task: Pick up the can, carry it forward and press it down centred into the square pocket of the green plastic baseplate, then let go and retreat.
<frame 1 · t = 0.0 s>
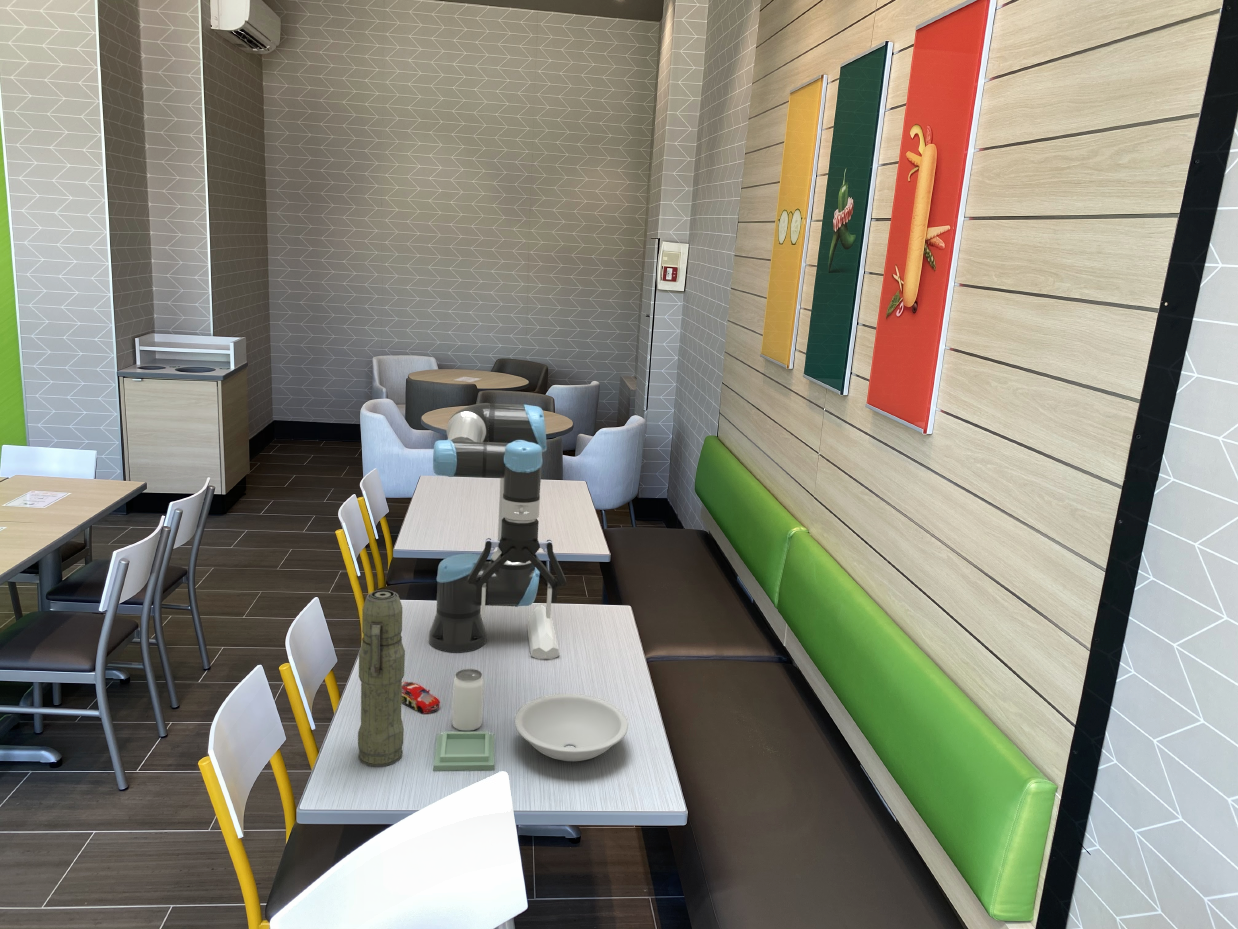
hand: (515, 615, 183), 28 cm above the table, fingers open, 13 cm apart
can: (467, 725, 192), on the table
baseplate: (465, 754, 181), on the table
crystal: (542, 643, 238), on the table
race car: (415, 704, 200), on the table
thermos: (380, 756, 178), on the table
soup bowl: (569, 749, 186), on the table
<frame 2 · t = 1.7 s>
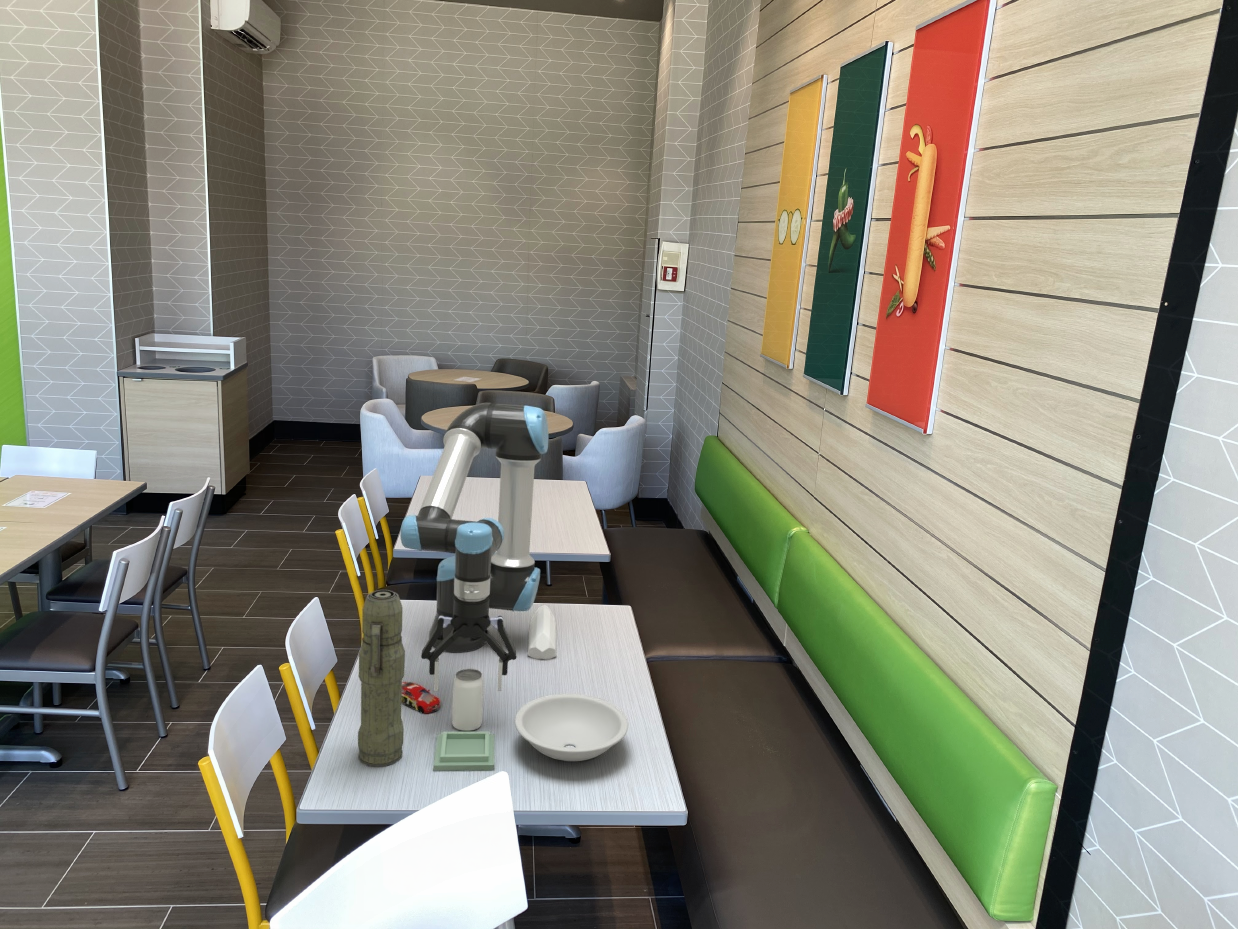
hand: (467, 688, 190), 9 cm above the table, fingers open, 13 cm apart
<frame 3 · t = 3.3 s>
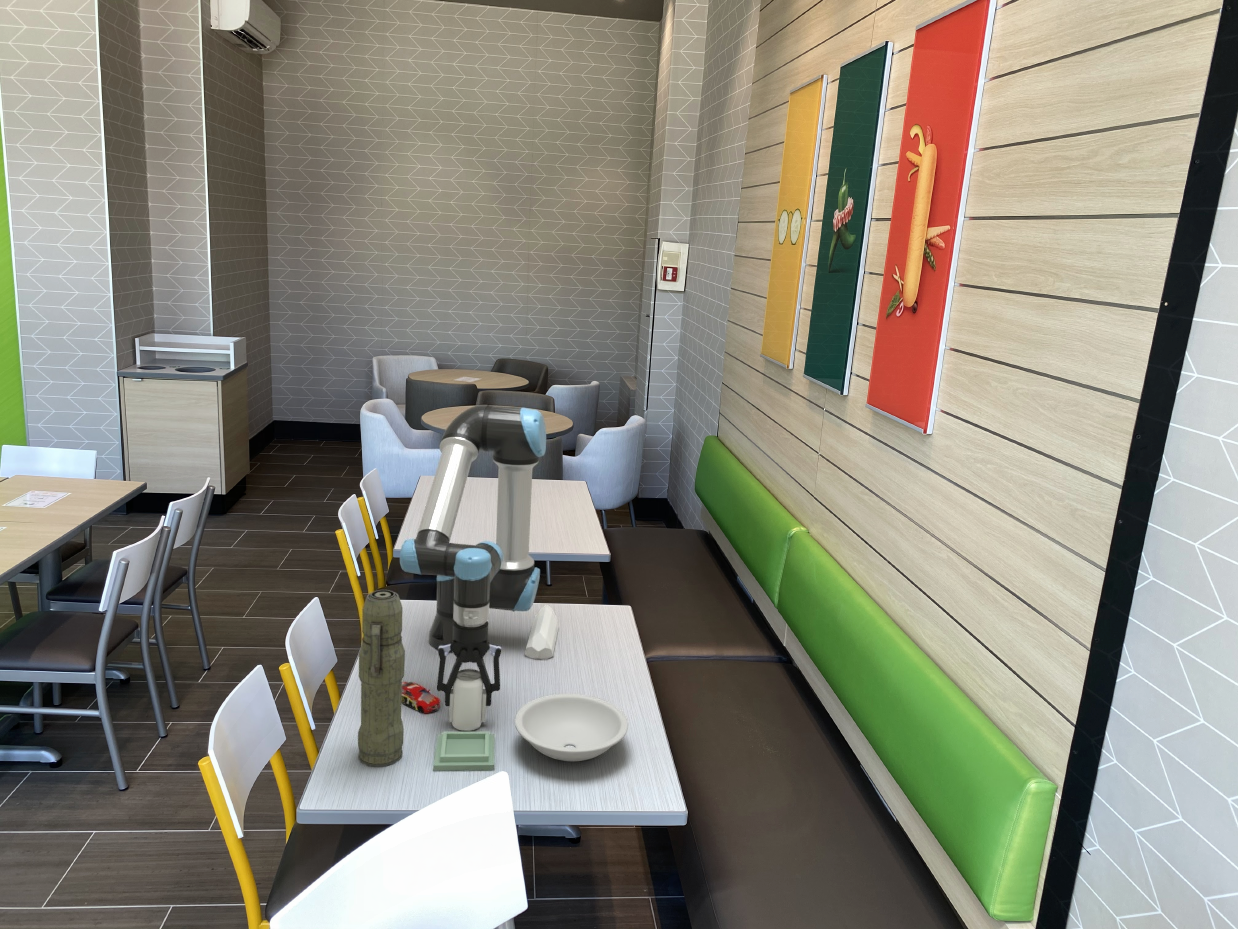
hand: (467, 718, 192), 1 cm above the table, fingers closed on can, 6 cm apart
can: (466, 725, 192), on the table, touching gripper
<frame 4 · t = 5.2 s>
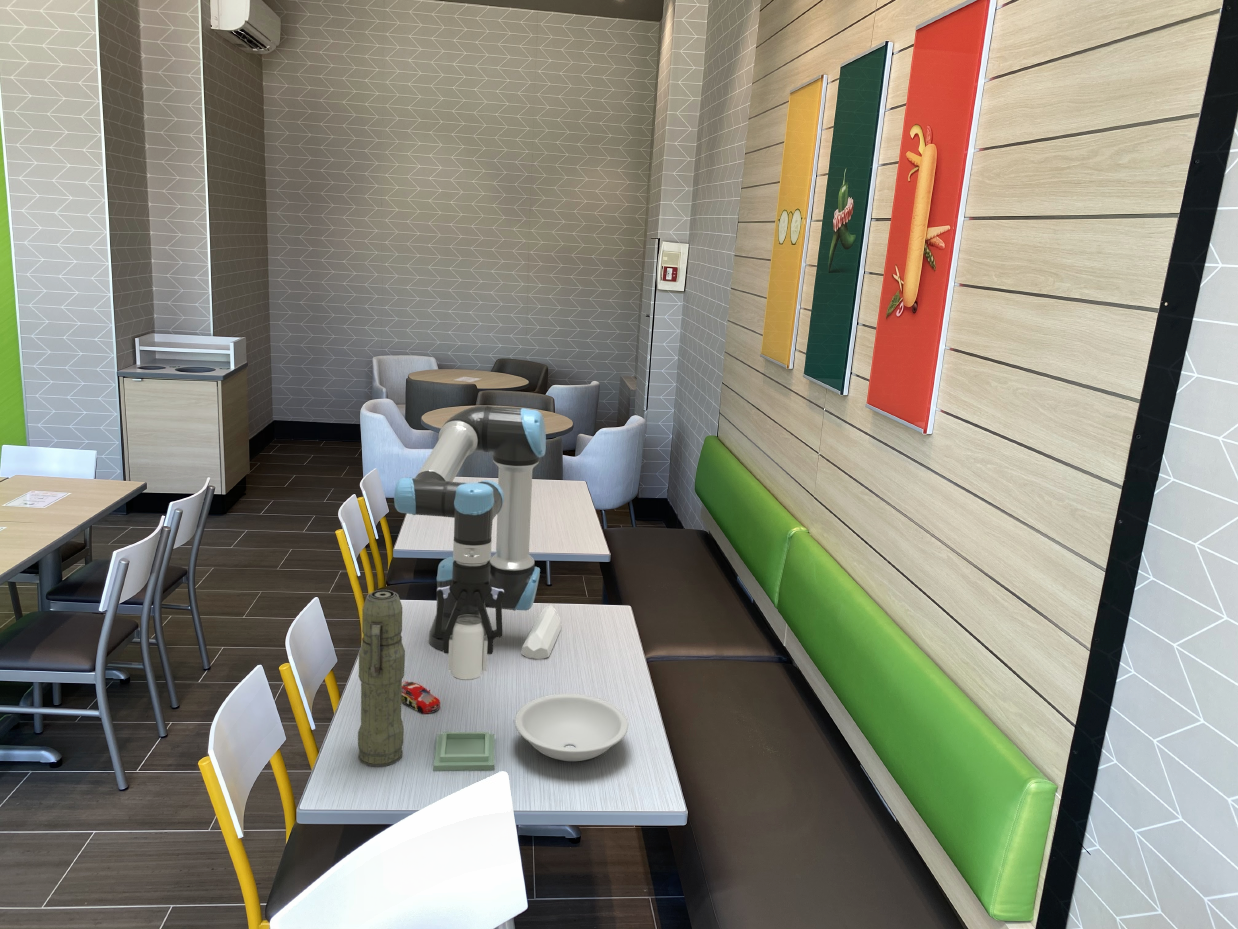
hand: (467, 667, 180), 18 cm above the table, fingers closed on can, 6 cm apart
can: (466, 675, 180), point 16 cm above the table, touching gripper
when the fingers open (3 cm above the table, at t = 7.3 s): can stays where it is, resting on baseplate.
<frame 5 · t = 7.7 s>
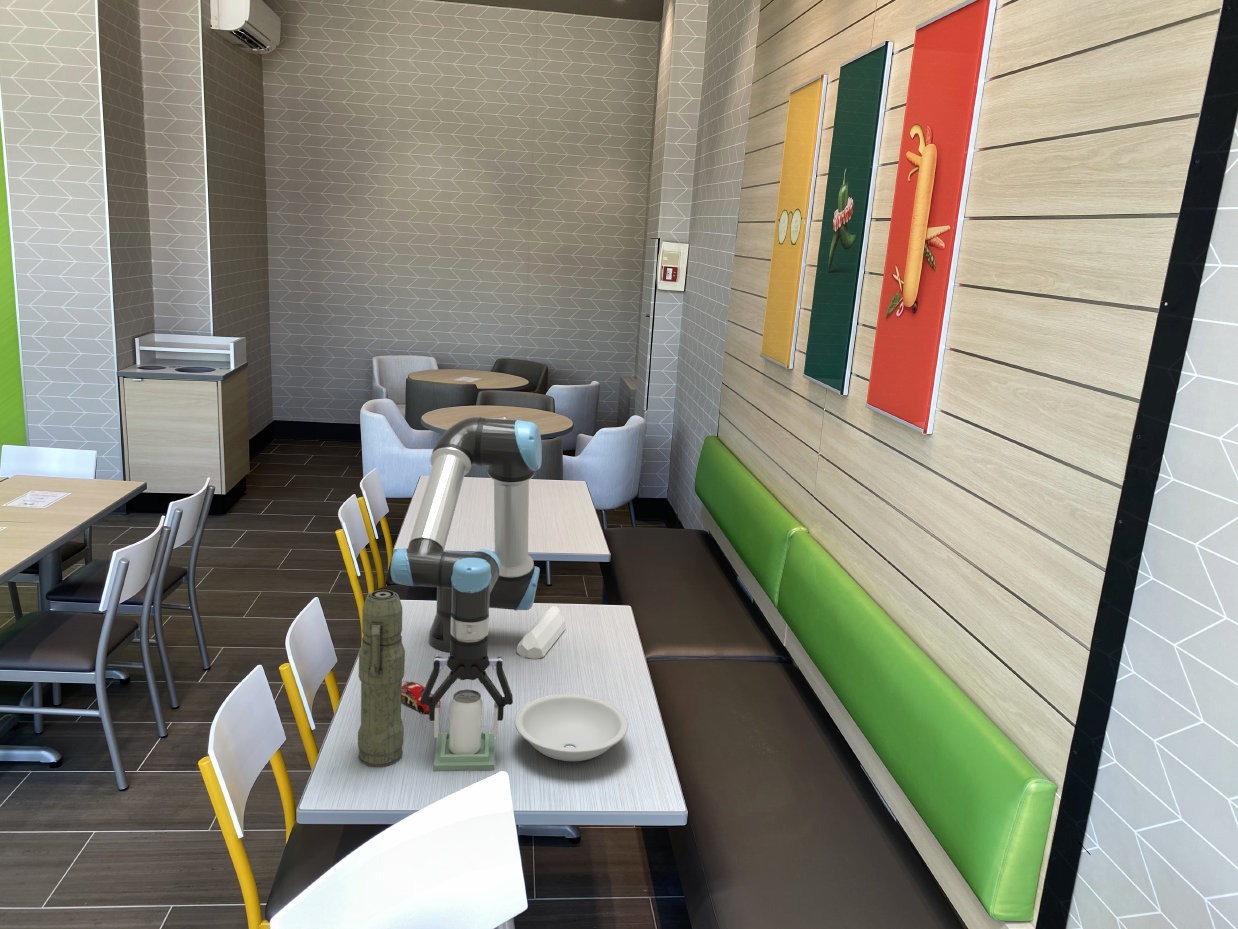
hand: (465, 734, 180), 5 cm above the table, fingers open, 11 cm apart
can: (464, 749, 181), point 1 cm above the table, touching baseplate
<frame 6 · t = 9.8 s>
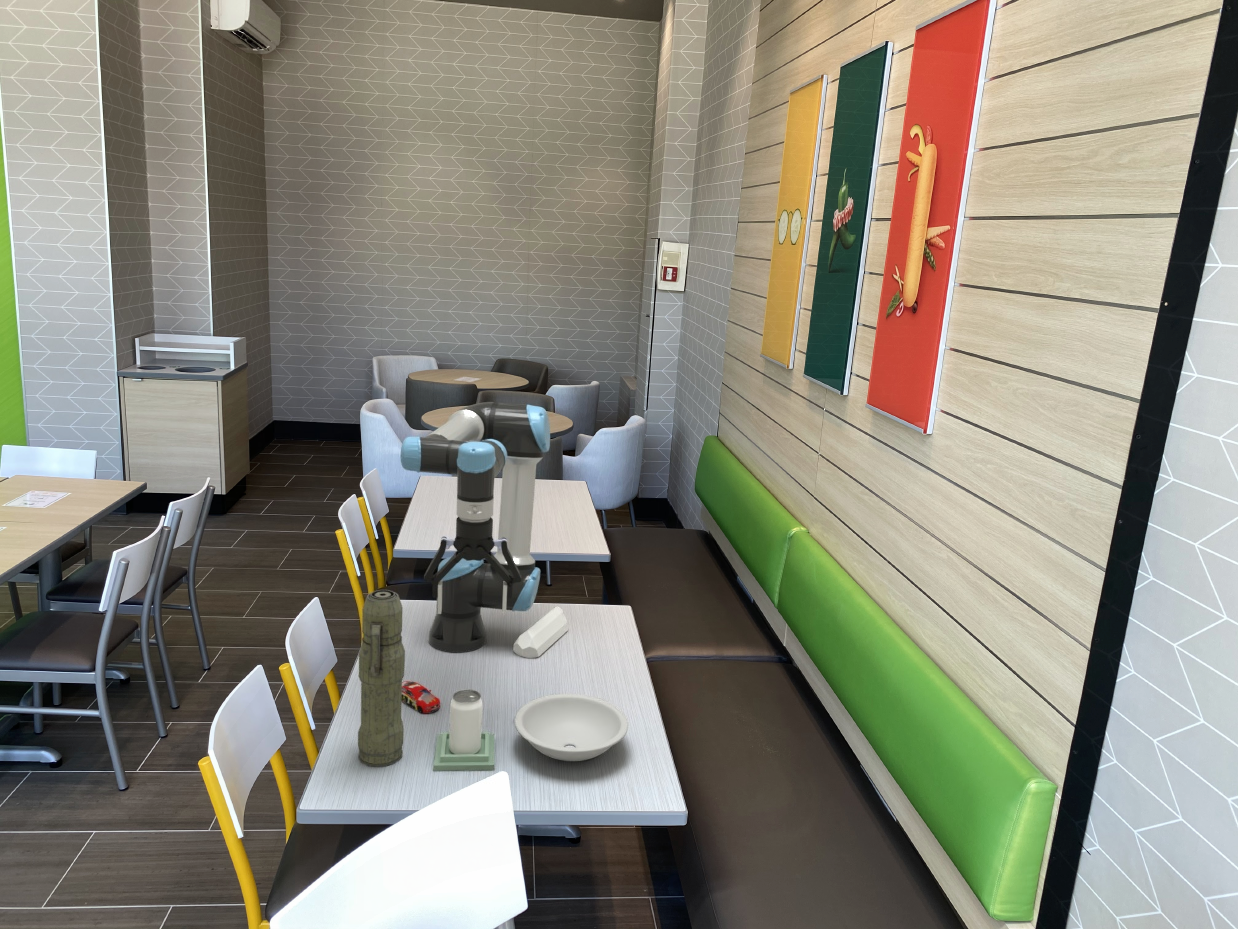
hand: (472, 611, 186), 27 cm above the table, fingers open, 13 cm apart
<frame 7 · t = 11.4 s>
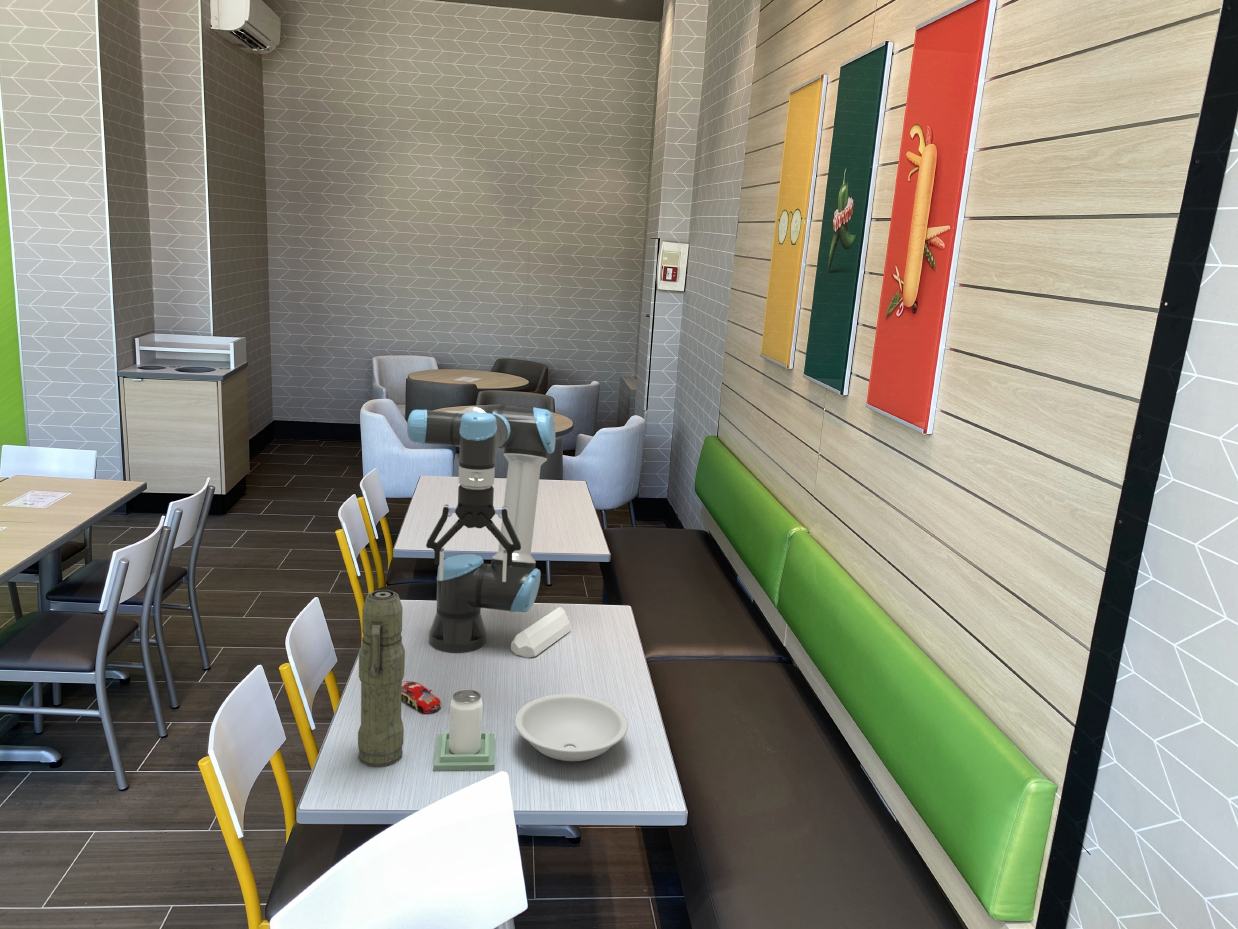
hand: (472, 579, 191), 32 cm above the table, fingers open, 13 cm apart
at the end: can 0.1 cm off-centre on the baseplate, point 1.0 cm above the baseplate's base; can tilted 0°; the gripper is holding nothing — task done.
